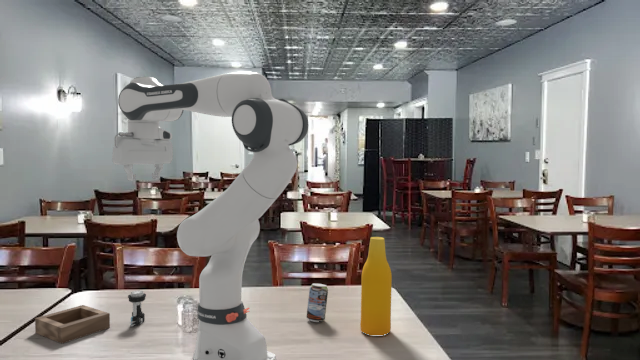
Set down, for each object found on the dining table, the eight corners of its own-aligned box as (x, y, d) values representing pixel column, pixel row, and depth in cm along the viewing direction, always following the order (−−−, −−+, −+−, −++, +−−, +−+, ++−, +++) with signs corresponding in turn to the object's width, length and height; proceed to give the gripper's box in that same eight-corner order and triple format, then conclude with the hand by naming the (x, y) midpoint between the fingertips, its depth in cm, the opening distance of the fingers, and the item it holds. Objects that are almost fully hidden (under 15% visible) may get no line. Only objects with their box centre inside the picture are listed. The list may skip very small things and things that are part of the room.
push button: (138, 328, 150) (138, 296, 149) (122, 327, 151) (122, 295, 150) (149, 321, 157) (149, 290, 156) (133, 319, 157) (133, 289, 157)
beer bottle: (355, 328, 153) (356, 236, 151) (381, 324, 156) (383, 234, 154) (368, 339, 144) (370, 241, 142) (396, 335, 147) (398, 239, 145)
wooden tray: (109, 327, 150) (109, 313, 150) (61, 343, 138) (61, 328, 137) (83, 318, 158) (82, 304, 158) (35, 333, 145) (35, 318, 145)
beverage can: (303, 322, 157) (303, 285, 156) (313, 315, 164) (314, 280, 163) (320, 325, 154) (320, 288, 153) (330, 318, 161) (331, 282, 160)
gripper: (122, 131, 134) (123, 182, 135) (176, 134, 152) (176, 178, 153) (106, 131, 137) (107, 181, 138) (161, 134, 155) (161, 177, 156)
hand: (144, 179), depth 146 cm, fingers open, 8 cm apart
